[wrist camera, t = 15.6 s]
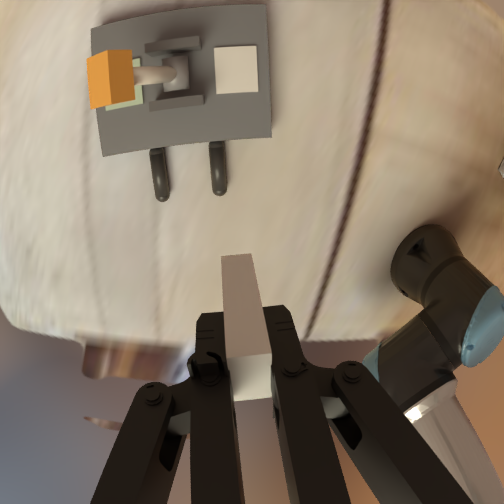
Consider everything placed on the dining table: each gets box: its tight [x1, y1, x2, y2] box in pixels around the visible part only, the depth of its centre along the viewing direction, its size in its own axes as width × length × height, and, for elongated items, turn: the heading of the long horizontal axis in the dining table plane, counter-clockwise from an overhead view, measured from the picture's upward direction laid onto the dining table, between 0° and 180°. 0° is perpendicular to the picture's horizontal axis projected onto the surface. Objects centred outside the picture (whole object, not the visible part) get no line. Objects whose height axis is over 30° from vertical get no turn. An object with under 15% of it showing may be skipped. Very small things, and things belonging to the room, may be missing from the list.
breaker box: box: [91, 4, 272, 202], centre depth 33 cm, size 22×26×7 cm
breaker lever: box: [87, 50, 190, 109], centre depth 26 cm, size 3×5×13 cm, turn 3°
